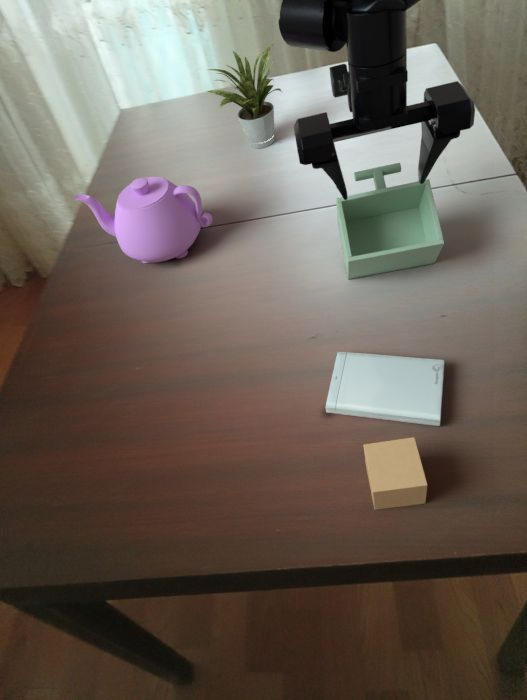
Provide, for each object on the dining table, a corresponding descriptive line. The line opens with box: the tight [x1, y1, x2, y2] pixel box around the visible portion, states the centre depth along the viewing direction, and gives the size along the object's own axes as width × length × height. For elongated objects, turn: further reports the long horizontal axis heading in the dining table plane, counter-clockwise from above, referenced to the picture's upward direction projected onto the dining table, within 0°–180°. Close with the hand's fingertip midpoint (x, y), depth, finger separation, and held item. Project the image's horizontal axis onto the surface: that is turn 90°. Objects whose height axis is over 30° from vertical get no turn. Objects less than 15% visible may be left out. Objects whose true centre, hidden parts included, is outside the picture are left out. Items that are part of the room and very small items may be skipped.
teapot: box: [73, 176, 213, 264], centre depth 80 cm, size 20×14×12 cm
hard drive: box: [325, 351, 445, 427], centre depth 57 cm, size 2×8×12 cm
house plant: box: [206, 43, 283, 150], centre depth 93 cm, size 14×14×16 cm
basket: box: [335, 162, 445, 280], centre depth 67 cm, size 13×12×7 cm
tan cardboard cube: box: [363, 436, 428, 511], centre depth 49 cm, size 5×5×4 cm
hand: (382, 190), depth 61 cm, fingers open, 9 cm apart
